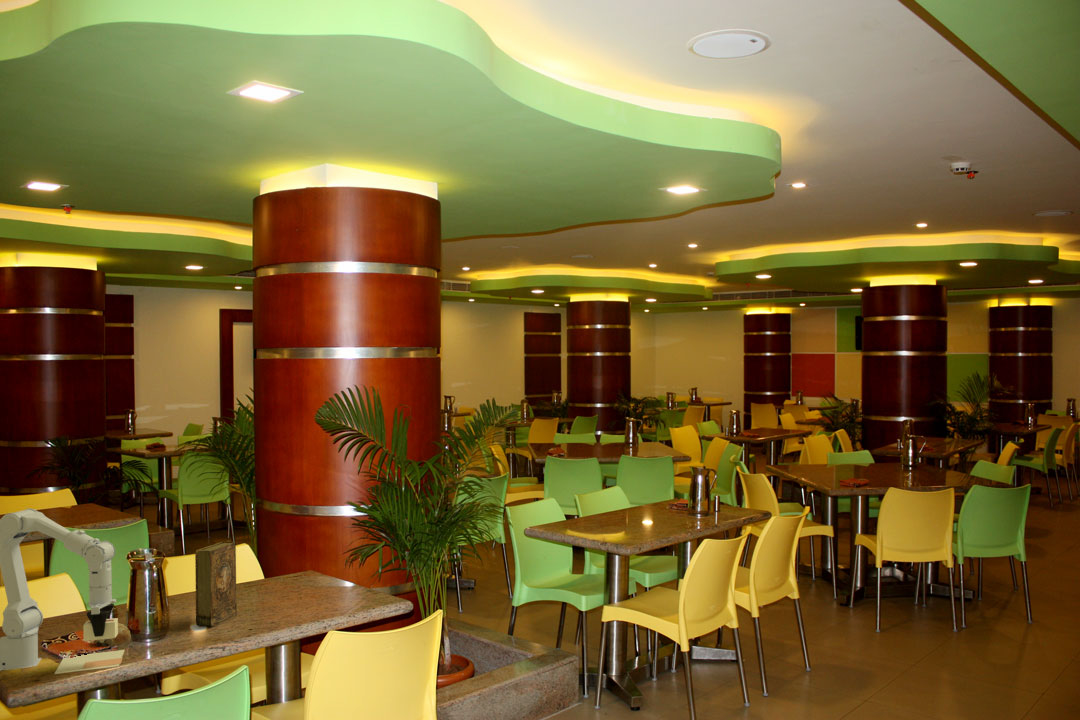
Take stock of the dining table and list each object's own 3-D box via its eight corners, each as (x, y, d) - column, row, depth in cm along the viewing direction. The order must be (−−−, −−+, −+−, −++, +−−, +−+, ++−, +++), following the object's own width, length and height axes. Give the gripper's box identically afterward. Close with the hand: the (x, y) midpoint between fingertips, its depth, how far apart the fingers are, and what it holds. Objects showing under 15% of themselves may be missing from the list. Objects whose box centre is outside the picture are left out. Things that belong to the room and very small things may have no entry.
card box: (114, 638, 242) (114, 621, 242) (83, 641, 240) (83, 624, 240) (117, 633, 247) (117, 617, 247) (87, 636, 244) (87, 620, 244)
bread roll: (130, 656, 263) (141, 629, 266) (98, 649, 256) (110, 622, 259) (117, 649, 269) (128, 624, 272) (85, 642, 263) (97, 616, 265)
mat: (54, 676, 235) (54, 673, 235) (64, 658, 250) (64, 656, 250) (120, 667, 240) (120, 665, 240) (125, 651, 255) (125, 649, 255)
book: (224, 613, 295) (223, 541, 296) (238, 614, 294) (237, 541, 295) (196, 627, 279) (195, 550, 280) (211, 628, 278) (210, 551, 279)
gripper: (110, 590, 238) (111, 639, 237) (120, 578, 252) (121, 625, 251) (82, 592, 236) (83, 642, 235) (94, 580, 250) (94, 627, 249)
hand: (100, 633), depth 243 cm, fingers closed on card box, 4 cm apart
